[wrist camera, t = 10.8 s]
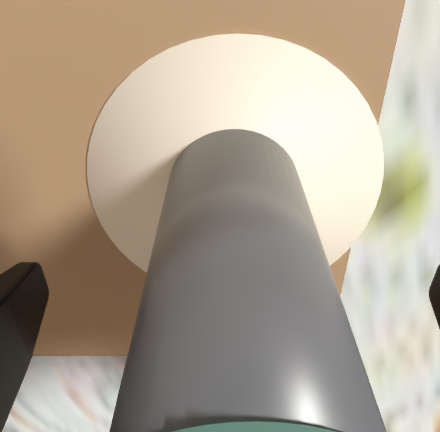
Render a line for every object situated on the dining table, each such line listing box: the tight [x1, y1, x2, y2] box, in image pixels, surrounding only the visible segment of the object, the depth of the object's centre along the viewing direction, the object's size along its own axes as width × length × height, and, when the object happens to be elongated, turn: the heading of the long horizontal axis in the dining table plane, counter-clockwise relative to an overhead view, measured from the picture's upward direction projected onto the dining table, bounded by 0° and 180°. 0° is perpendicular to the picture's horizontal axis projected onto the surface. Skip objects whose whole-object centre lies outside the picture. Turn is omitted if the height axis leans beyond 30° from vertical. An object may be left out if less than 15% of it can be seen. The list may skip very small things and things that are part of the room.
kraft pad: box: [0, 0, 405, 356], centre depth 13 cm, size 16×14×1 cm
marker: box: [110, 129, 386, 432], centre depth 8 cm, size 4×4×10 cm
